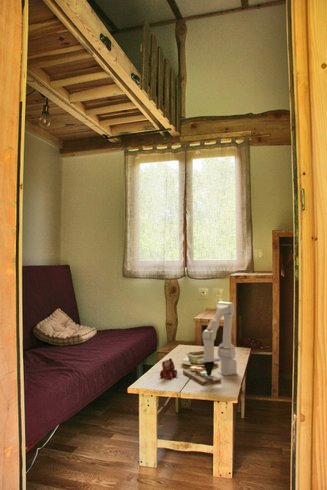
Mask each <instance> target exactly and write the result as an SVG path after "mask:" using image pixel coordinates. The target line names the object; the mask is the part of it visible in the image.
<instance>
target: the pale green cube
mask: <svg viewBox="0 0 327 490" xmlns="http://www.w3.org/2000/svg"><path fill="white" fill-rule="evenodd" d="M205 374H207V372H206V370H205V371H202V372H199V375H201V376H202V377H204V375H205Z"/></svg>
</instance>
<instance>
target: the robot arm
mask: <svg viewBox="0 0 327 490" xmlns="http://www.w3.org/2000/svg"><path fill="white" fill-rule="evenodd" d="M215 307H216V312H215V314H214V317H213V319H211V320H210V322H209V324H208V325H207V327H206V329H205V330H203V331H202V332H201V333H202V334H201V338H202V344H203V358H201V359H200V358H199V359H196V364H198V365H201V364H203V366H204V370H205V371H206V372H207V375H208V376H210V375H211V374H212V373H213V372H212V371H213V368H214V367H215V366H216V365H215V364H216V363H215V362H220V370H218V371H217V372H218V373H219V374H221V375H223V376H229V375H230V376H231V375H238V373H237V367H238V366H237V365H238V364H237V359H235V357H236V347H235V346H234V344H233V343H232V330H233V329H232V326H233V317H234V316H235V309H236V307H235V304H234V303H233V302H232V301H231V302H227V301H218V302H217V303H216V306H215ZM222 318H223V331H222V342H221V343H219V345H218V349H217V357H215V340H216V337H217V331H218V329H219V326H220V321H221V319H222Z"/></svg>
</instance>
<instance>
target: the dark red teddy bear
mask: <svg viewBox="0 0 327 490" xmlns="http://www.w3.org/2000/svg"><path fill="white" fill-rule="evenodd" d="M161 366H162V370H160V371H159V376H160V378H165V377H166V378H167V379H168V380H172V379H173V378H176V377H177V375H178V370H177V369H175V368H176V367H175V363H174V361H173V359H172V358H171V357H170V358H169V359H166V360H164V361H162V362H161Z"/></svg>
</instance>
